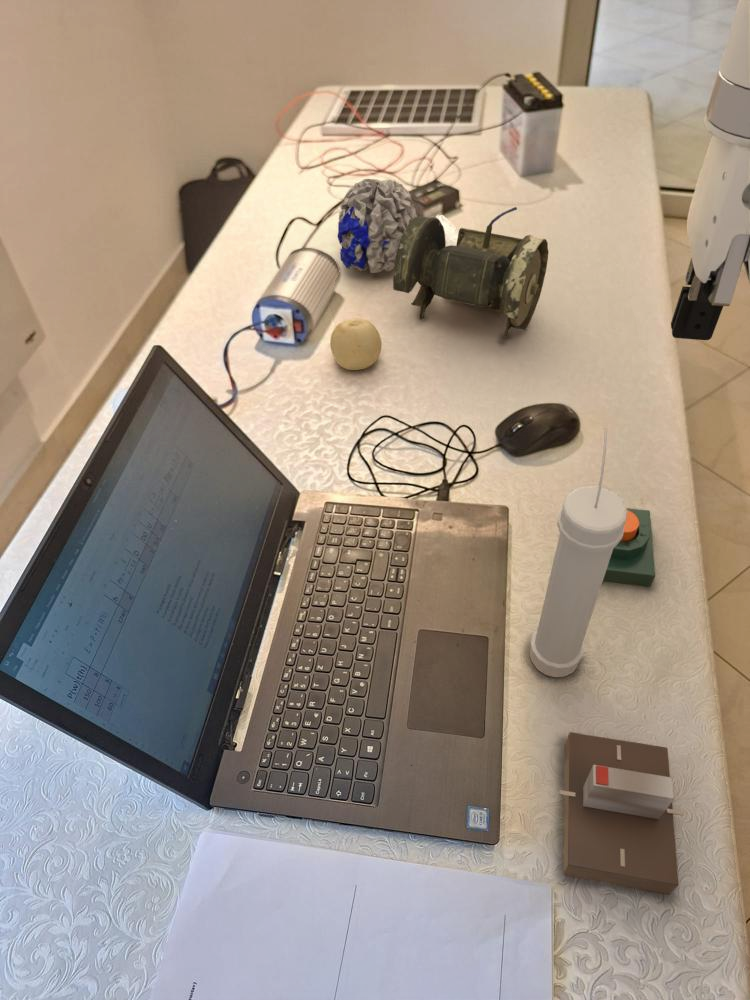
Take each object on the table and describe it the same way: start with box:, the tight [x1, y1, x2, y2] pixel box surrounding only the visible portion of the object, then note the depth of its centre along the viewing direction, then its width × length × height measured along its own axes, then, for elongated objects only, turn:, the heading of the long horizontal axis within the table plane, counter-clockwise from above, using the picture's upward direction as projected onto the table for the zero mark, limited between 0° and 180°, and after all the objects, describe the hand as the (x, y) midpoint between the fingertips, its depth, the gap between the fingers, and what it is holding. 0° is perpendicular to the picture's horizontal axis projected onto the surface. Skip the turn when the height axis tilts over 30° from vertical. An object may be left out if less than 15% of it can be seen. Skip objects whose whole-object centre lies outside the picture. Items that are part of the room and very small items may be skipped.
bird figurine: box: [435, 213, 459, 246], centre depth 134 cm, size 5×7×10 cm
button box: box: [603, 507, 656, 588], centre depth 86 cm, size 10×8×4 cm
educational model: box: [336, 178, 418, 274], centre depth 132 cm, size 14×20×15 cm
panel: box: [558, 731, 685, 896], centre depth 66 cm, size 12×11×3 cm
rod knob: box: [583, 765, 675, 819], centre depth 63 cm, size 6×2×5 cm, turn 79°
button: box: [620, 510, 639, 542], centre depth 84 cm, size 4×4×2 cm
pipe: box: [529, 427, 627, 678], centre depth 67 cm, size 6×6×30 cm
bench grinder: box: [392, 206, 549, 339], centre depth 116 cm, size 20×22×20 cm
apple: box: [329, 318, 382, 371], centre depth 112 cm, size 8×8×8 cm
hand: (689, 333), depth 62 cm, fingers closed
